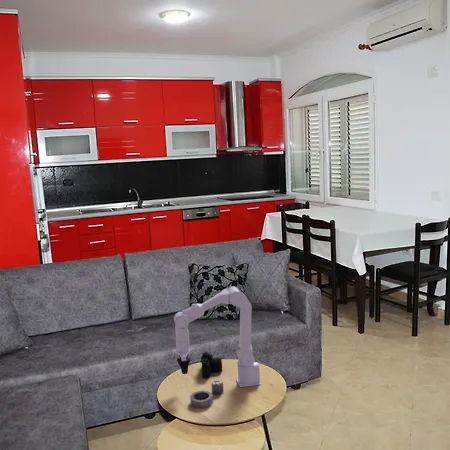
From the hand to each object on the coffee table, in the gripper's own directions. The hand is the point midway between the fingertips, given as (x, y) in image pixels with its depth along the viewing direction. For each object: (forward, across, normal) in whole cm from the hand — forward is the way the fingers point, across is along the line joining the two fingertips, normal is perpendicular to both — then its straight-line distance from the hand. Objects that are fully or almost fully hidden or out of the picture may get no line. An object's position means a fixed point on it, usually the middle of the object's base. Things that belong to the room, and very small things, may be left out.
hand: (184, 369), depth 202 cm
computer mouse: (+10, +4, +14) cm, 17 cm away
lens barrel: (+10, +11, +6) cm, 16 cm away
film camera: (+10, -16, +13) cm, 23 cm away
